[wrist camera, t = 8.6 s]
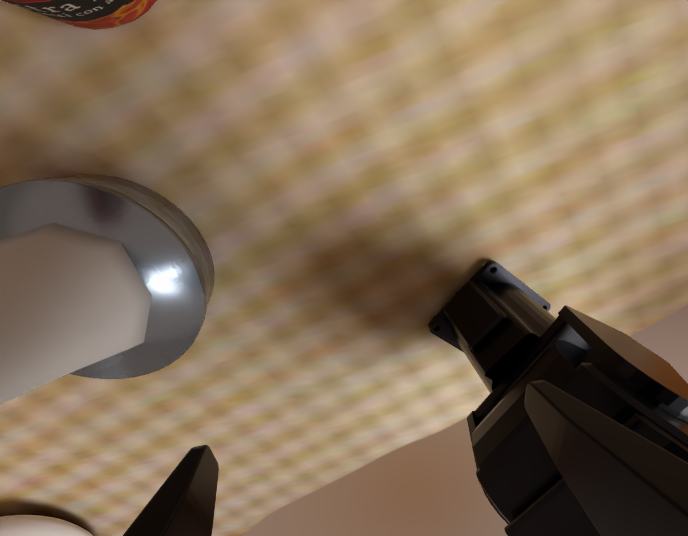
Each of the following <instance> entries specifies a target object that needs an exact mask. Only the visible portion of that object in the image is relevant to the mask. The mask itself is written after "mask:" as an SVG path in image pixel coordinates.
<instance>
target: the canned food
mask: <svg viewBox="0 0 688 536" xmlns="http://www.w3.org/2000/svg"><path fill="white" fill-rule="evenodd" d="M2 1H5V2H8V3H11V4H14V5H17V6H19V7H22V8H25V9H28V10H31V11H34V12H36V13H39V14H42V15H45V16H48V17H50V18H53V19H56V20H59V21H62V22H65V23H67V24H70V25H73V26H77V27H83V28H89V29H106V28H114V27H117V26H120V25H123V24H126V23H129V22H132V21H134V20H136V19H137V18H139V17H140V16H142V15H143V14H144V13H146V12H147V11H148V10H149V9H150V8H151V6H152V5H153V4H154V3H155V2H156V0H2Z"/></svg>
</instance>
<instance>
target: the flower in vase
mask: <svg viewBox="0 0 688 536" xmlns="http://www.w3.org/2000/svg"><path fill="white" fill-rule="evenodd" d="M0 536H93V535H92V534H91V533H89V532H88V531H86V530H85V529H83V528H81V527H79V526H77V525H75V524H73V523H70V522H68V521H65V520H62V519H58V518H54V517H48V516H39V515H11V516H2V517H0Z"/></svg>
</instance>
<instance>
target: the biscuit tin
mask: <svg viewBox="0 0 688 536" xmlns="http://www.w3.org/2000/svg"><path fill="white" fill-rule="evenodd" d="M53 222H54V223H57V224H60V225H64V226H67V227H70V228H74V229H77V230H80V231H84V232H87V233H91V234H94V235H97V236H101V237H104V238H107V239H111V240H114V241H117V242H121V244H122V246H123V247H124V249H125V251H126V252H127V254H128V256H129V257H130V259H131V261H132V262H133V264H134V266H135V268H136V269H137V271H138V273H139V274H140V276H141V278H142V279H143V281H144V283H145V285H146V286H147V288H148V290H149V291H150V293H151V295H152V298H151V304H150V310H149V316H148V321H147V327H146V333H145V339H144V342H143V343H141V344H139V345H137V346H134V347H132V348H130V349H128V350H125V351H123V352H120V353H118V354H115V355H113V356H110V357H108V358H105V359H103V360H101V361H98V362H96V363H93V364H91V365H88V366H86V367H83V368H81V369H78V370H76V371H74V372H72V373H69V374H73V375H77V376H83V377H89V378H99V379H123V378H131V377H137V376H141V375H145V374H149V373H152V372H154V371H157V370H160V369H162V368H164V367H166V366H168V365H170V364H171V363H172V362H174V361H175V360H177V359H178V358H179V357H181V356H182V355H183V354H184V353H185V352H186V351H187V350H188V349H189V347H190V346H191V345H192V344H193V342H194V340H195V339H196V337H197V335H198V333H199V331H200V329H201V327H202V324H203V321H204V319H205V314H206V308H207V304H208V302H209V300H210V297H211V294H212V291H213V285H214V268H213V262H212V258H211V255H210V251H209V249H208V247H207V245H206V242H205V240H204V239H203V237H202V235H201V234H200V232H199V230H198V229H197V228H196V227H195V225H194V224H193V223H192V221H191V220H190V219H189V218H188V217H187V216H186V215H185V214H184V213H183V212H182V211H181V210H180V209H179V208H177V207H176V206H175V205H174V204H173V203H171V202H170V201H169V200H167V199H165V198H164V197H162V196H161V195H159V194H158V193H156V192H154V191H152V190H150V189H148V188H146V187H144V186H142V185H139V184H136V183H134V182H131V181H128V180H124V179H120V178H117V177H110V176H104V175H79V176H71V177H67V178H63V179H50V178H47V179H36V180H28V181H24V182H20V183H16V184H12V185H8V186H4V187H1V188H0V240H2V239H5V238H8V237H11V236H14V235H17V234H20V233H23V232H26V231H29V230H32V229H35V228H38V227H41V226H44V225H47V224H50V223H53Z"/></svg>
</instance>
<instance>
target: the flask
mask: <svg viewBox="0 0 688 536" xmlns="http://www.w3.org/2000/svg"><path fill="white" fill-rule="evenodd" d="M151 298H152V295H151V293H150V291H149V290H148V288H147V286H146V285H145V283H144V281H143V279H142V278H141V276H140V274H139V273H138V271H137V269H136V268H135V266H134V264H133V262H132V261H131V259H130V257H129V256H128V254H127V252H126V251H125V249H124V247H123V246H122V244H121V242H117V241H114V240H111V239H107V238H104V237H101V236H97V235H94V234H91V233H87V232H84V231H80V230H77V229H74V228H70V227H67V226H64V225H60V224H57V223H54V222H53V223H50V224H47V225H44V226H41V227H38V228H35V229H32V230H29V231H26V232H23V233H20V234H17V235H14V236H11V237H8V238H5V239H2V240H0V404H2V403H4V402H6V401H8V400H11V399H13V398H15V397H17V396H20V395H22V394H24V393H26V392H29V391H31V390H33V389H35V388H38V387H40V386H42V385H44V384H47V383H49V382H51V381H53V380H56V379H58V378H60V377H63V376H65V375H67V374H69V373H72V372H74V371H76V370H78V369H81V368H83V367H86V366H88V365H91V364H93V363H96V362H98V361H101V360H103V359H105V358H108V357H110V356H113V355H115V354H118V353H120V352H123V351H125V350H128V349H130V348H132V347H134V346H137V345H139V344H141V343H143V342H144V339H145V333H146V327H147V321H148V316H149V310H150V304H151Z"/></svg>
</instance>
